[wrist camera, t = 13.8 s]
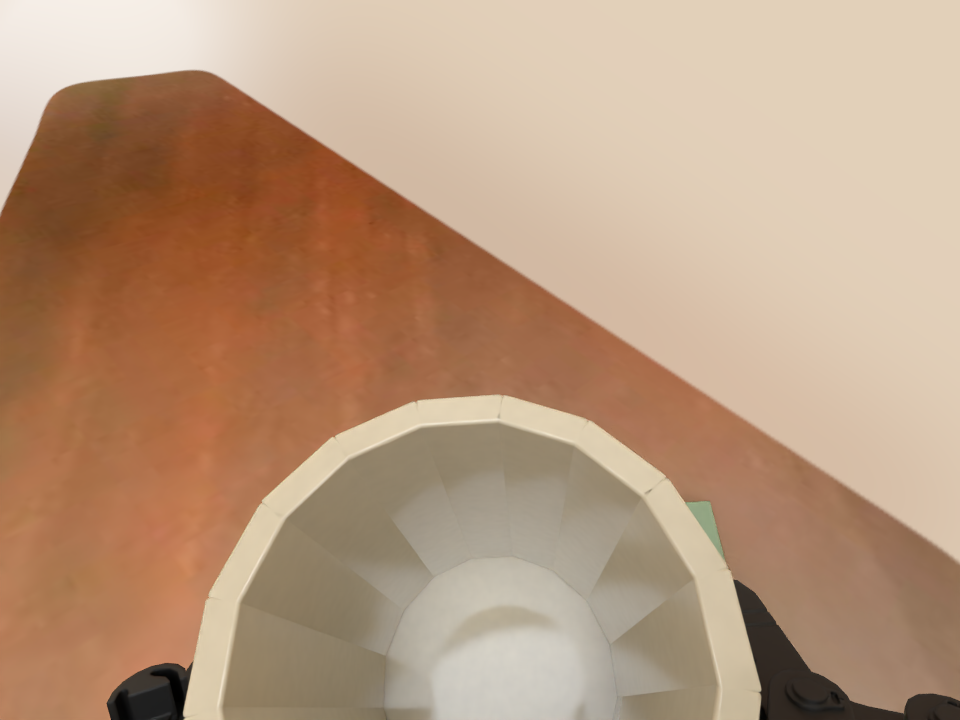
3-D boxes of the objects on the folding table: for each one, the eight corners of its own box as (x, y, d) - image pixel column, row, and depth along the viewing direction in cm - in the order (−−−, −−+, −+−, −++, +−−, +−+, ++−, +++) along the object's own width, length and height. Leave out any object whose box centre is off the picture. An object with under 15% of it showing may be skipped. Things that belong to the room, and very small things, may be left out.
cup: (608, 537, 20) (681, 380, 11) (655, 840, 16) (858, 1052, 6) (378, 551, 21) (242, 410, 11) (361, 850, 16) (107, 1066, 6)
